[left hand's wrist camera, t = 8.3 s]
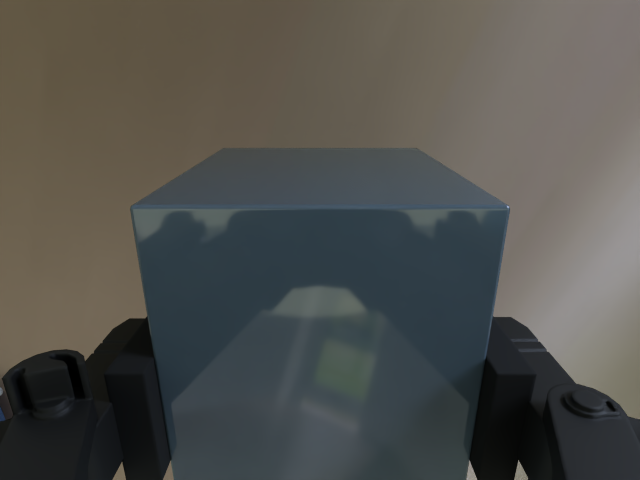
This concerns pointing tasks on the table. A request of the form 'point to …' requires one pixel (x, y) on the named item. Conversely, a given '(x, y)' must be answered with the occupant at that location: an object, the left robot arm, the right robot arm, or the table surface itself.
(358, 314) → the brick
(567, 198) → the table surface
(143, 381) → the left robot arm
